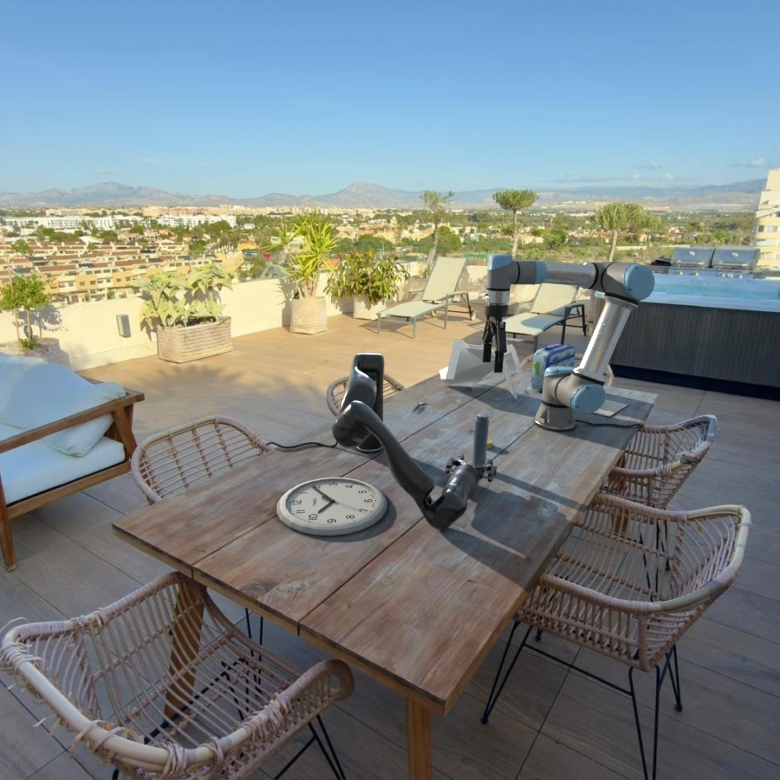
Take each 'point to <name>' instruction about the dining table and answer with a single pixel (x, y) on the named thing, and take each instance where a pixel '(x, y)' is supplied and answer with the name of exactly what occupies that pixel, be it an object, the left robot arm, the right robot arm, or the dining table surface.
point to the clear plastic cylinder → (480, 439)
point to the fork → (420, 403)
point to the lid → (489, 443)
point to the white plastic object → (478, 366)
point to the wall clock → (331, 506)
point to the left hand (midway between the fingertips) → (476, 459)
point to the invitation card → (610, 408)
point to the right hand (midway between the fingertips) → (492, 367)
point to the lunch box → (550, 362)
